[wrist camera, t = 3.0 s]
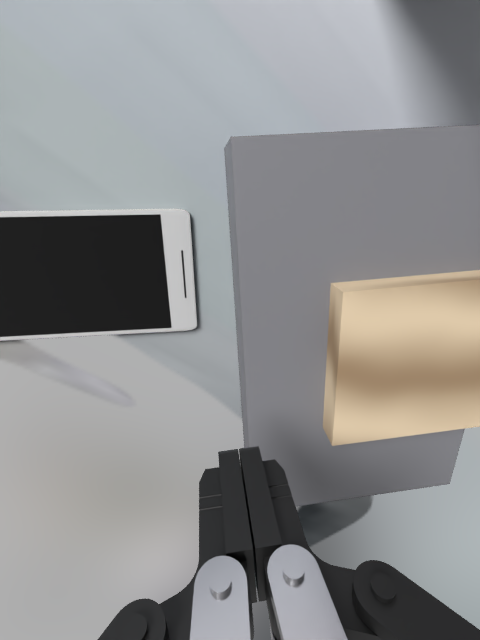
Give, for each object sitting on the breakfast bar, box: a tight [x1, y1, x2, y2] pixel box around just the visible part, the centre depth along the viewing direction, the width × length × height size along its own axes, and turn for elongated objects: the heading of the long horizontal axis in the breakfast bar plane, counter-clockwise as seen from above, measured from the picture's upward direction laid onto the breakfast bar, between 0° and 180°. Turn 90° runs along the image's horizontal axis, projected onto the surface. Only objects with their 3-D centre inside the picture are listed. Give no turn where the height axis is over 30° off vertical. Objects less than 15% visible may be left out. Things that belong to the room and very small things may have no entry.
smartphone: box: [0, 209, 197, 341], centre depth 18 cm, size 7×16×1 cm, turn 91°
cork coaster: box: [323, 270, 480, 446], centre depth 17 cm, size 9×9×2 cm
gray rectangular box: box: [224, 125, 480, 506], centre depth 20 cm, size 22×14×4 cm, turn 3°
